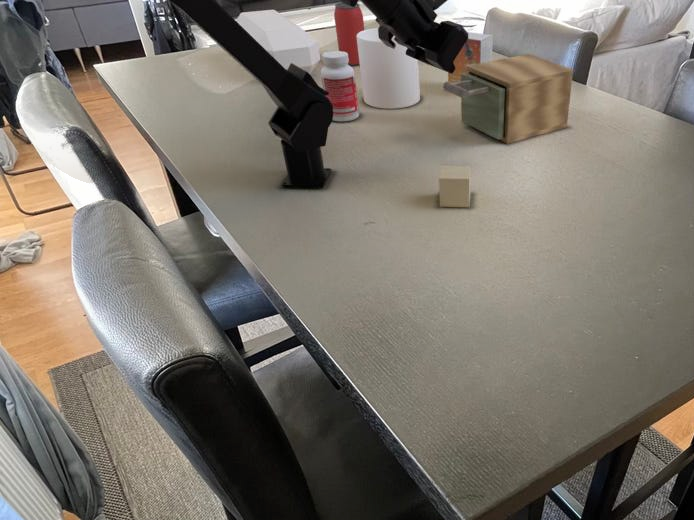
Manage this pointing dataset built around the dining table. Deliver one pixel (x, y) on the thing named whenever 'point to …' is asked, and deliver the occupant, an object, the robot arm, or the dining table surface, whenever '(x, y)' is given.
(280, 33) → the crystal
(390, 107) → the cup
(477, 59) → the small box
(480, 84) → the drawer
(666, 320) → the dining table surface
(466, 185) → the block
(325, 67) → the pill bottle
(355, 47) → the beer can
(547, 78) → the cabinet
